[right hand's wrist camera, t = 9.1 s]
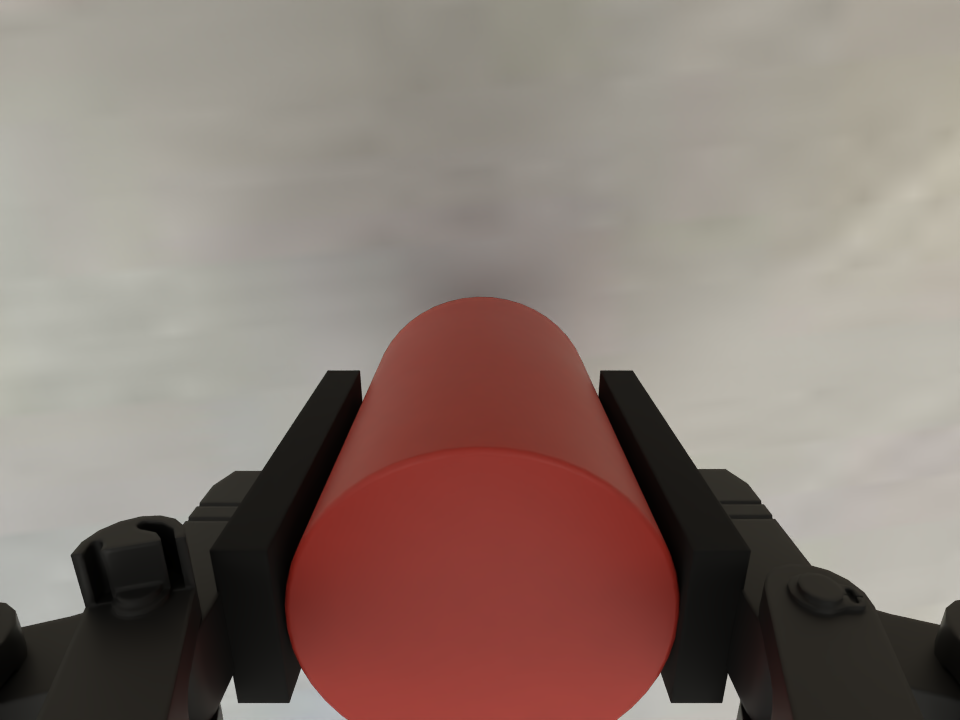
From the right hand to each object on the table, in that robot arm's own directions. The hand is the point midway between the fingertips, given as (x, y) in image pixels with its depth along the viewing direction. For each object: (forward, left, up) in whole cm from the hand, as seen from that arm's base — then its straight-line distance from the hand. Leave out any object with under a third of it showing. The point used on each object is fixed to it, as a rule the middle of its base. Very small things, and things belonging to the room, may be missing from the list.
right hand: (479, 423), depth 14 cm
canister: (0, 0, -2) cm, 2 cm away
